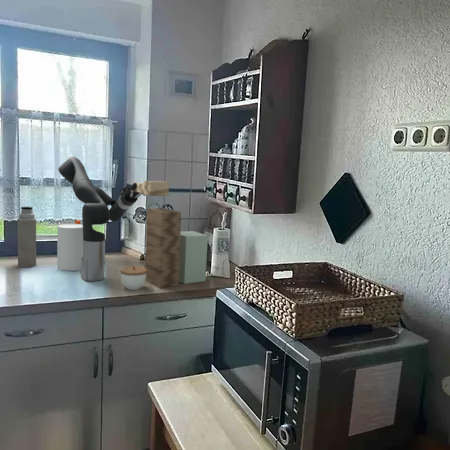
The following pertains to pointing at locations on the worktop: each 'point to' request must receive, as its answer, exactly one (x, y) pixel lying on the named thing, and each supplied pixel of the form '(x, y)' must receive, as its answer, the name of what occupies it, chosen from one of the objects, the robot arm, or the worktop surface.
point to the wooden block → (153, 188)
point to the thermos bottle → (26, 238)
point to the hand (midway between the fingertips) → (140, 184)
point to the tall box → (163, 247)
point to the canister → (69, 246)
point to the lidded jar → (133, 277)
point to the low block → (192, 257)
